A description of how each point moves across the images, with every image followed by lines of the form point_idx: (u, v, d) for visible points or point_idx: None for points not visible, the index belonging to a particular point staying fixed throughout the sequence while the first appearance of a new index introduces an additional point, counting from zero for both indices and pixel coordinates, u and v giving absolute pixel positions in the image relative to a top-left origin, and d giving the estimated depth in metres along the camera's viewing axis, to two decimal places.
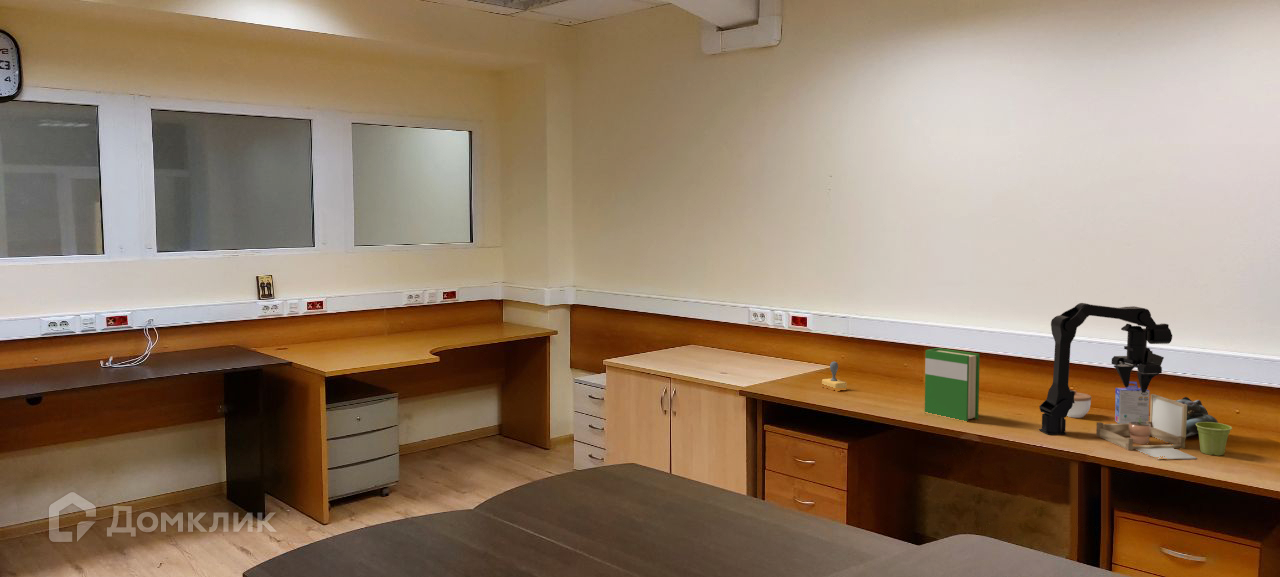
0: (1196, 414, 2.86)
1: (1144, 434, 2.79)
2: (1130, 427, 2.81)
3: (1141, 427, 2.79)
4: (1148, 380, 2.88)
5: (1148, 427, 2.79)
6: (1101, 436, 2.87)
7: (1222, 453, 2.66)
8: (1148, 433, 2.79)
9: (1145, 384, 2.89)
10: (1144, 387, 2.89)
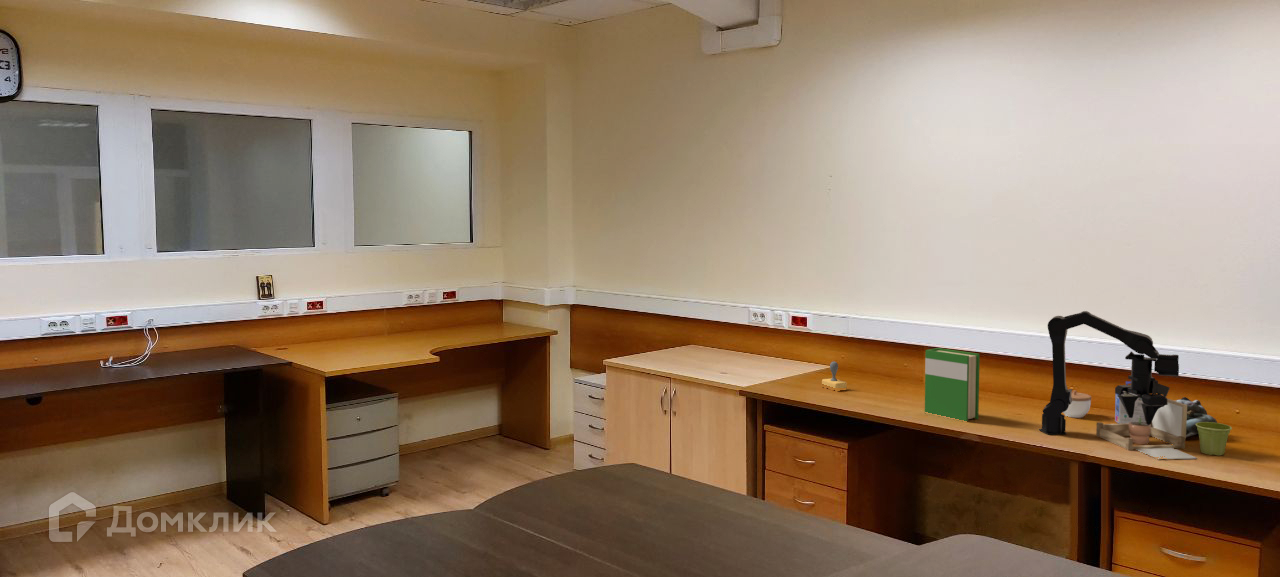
0: (1195, 414, 2.86)
1: (1144, 434, 2.79)
2: (1130, 427, 2.81)
3: (1141, 427, 2.79)
4: (1153, 412, 2.75)
5: (1148, 427, 2.79)
6: (1101, 436, 2.87)
7: (1222, 453, 2.66)
8: (1148, 433, 2.79)
9: (1150, 416, 2.76)
10: (1149, 419, 2.76)
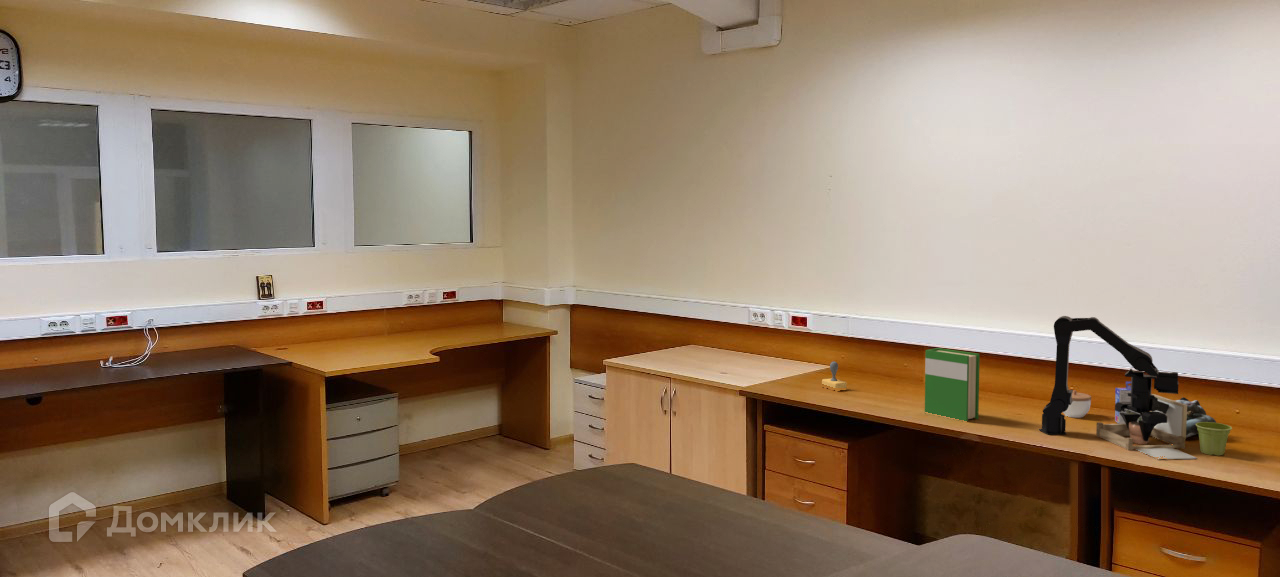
0: (1195, 415, 2.85)
1: None
2: (1130, 427, 2.81)
3: None
4: (1150, 428, 2.77)
5: None
6: (1101, 436, 2.87)
7: (1222, 453, 2.66)
8: None
9: (1147, 432, 2.77)
10: (1146, 435, 2.78)
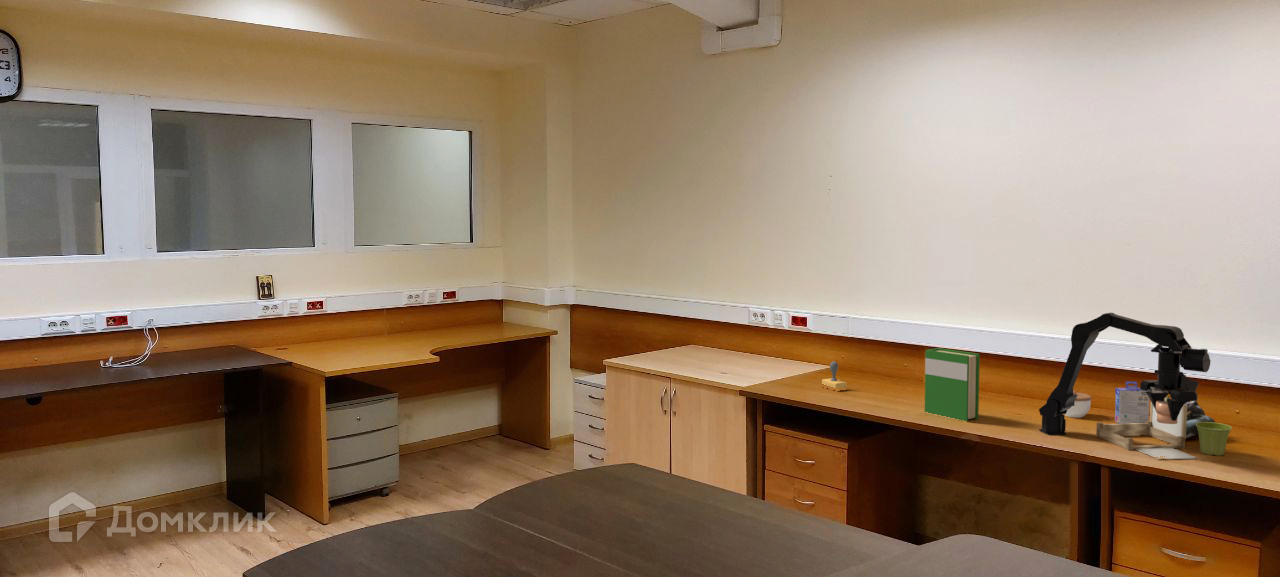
0: (1194, 415, 2.85)
1: None
2: (1157, 406, 2.66)
3: None
4: (1179, 407, 2.62)
5: None
6: (1101, 436, 2.87)
7: (1222, 453, 2.66)
8: None
9: (1176, 411, 2.62)
10: (1174, 415, 2.62)
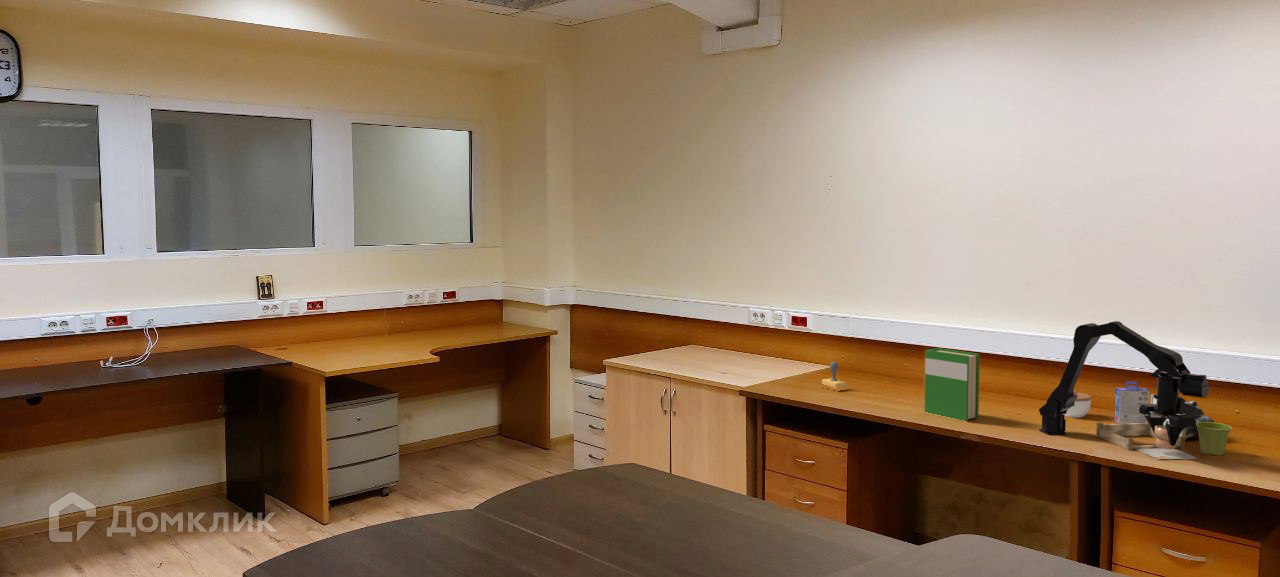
0: None
1: None
2: (1156, 431, 2.67)
3: None
4: (1178, 432, 2.62)
5: None
6: (1101, 436, 2.87)
7: (1222, 453, 2.66)
8: None
9: (1174, 437, 2.63)
10: (1173, 440, 2.63)
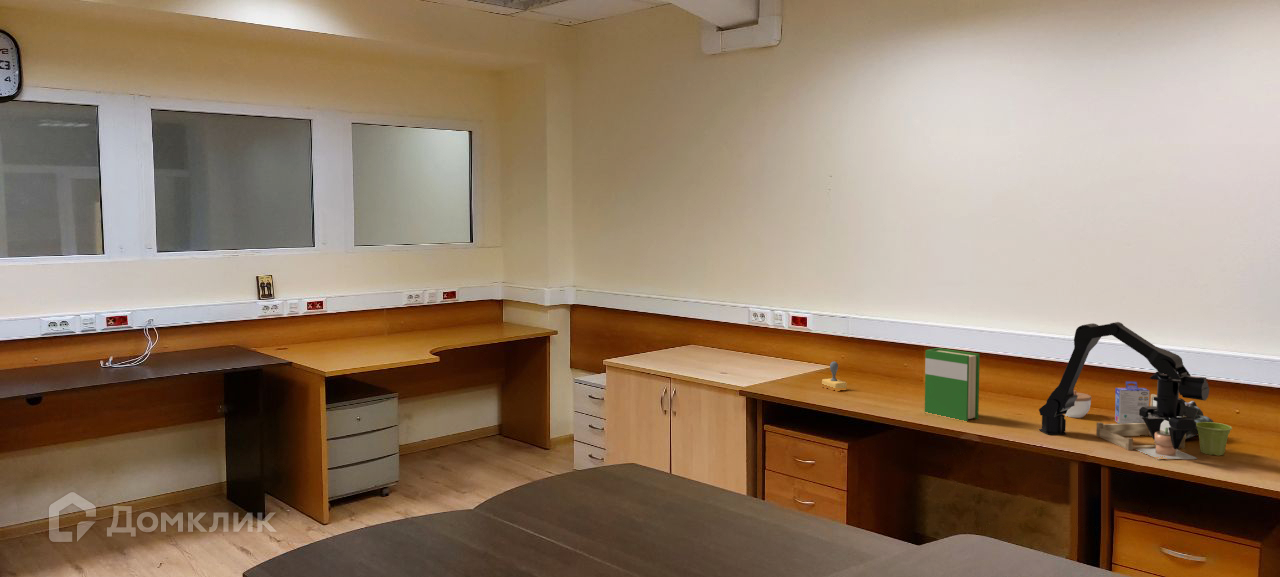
0: None
1: (1171, 445, 2.64)
2: (1156, 437, 2.67)
3: (1168, 437, 2.64)
4: (1181, 436, 2.61)
5: None
6: (1101, 436, 2.87)
7: (1222, 453, 2.66)
8: None
9: (1177, 440, 2.61)
10: (1176, 443, 2.62)
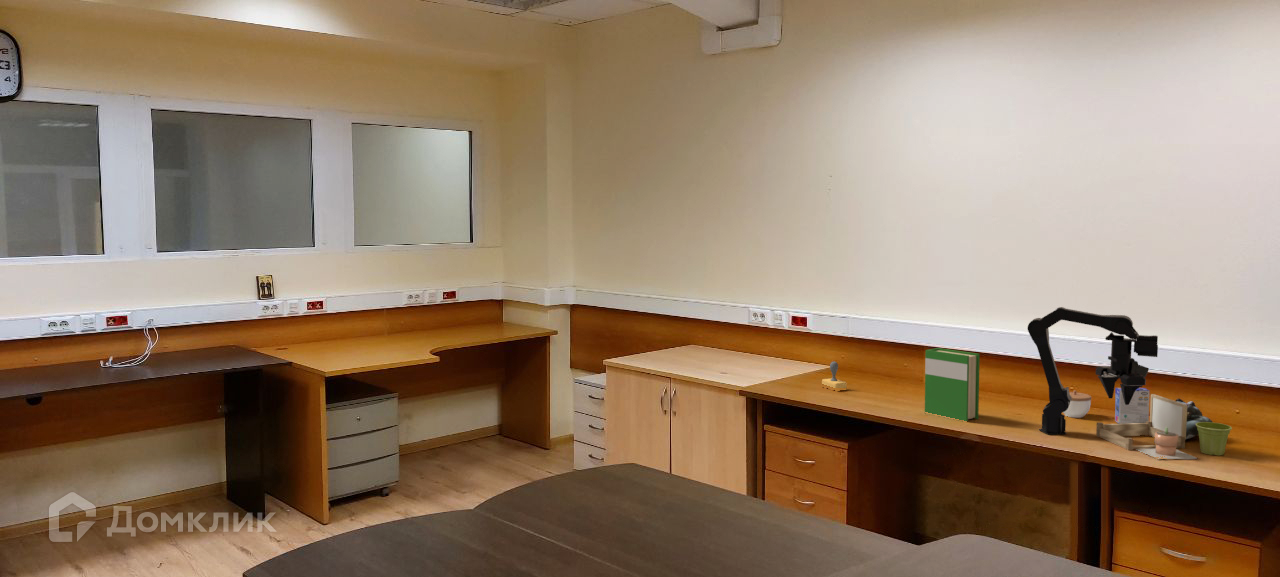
0: (1193, 416, 2.84)
1: (1171, 445, 2.64)
2: (1156, 437, 2.67)
3: (1168, 437, 2.64)
4: (1132, 392, 2.78)
5: (1175, 437, 2.64)
6: (1101, 436, 2.87)
7: (1222, 453, 2.66)
8: (1175, 444, 2.64)
9: (1128, 396, 2.78)
10: (1127, 399, 2.79)
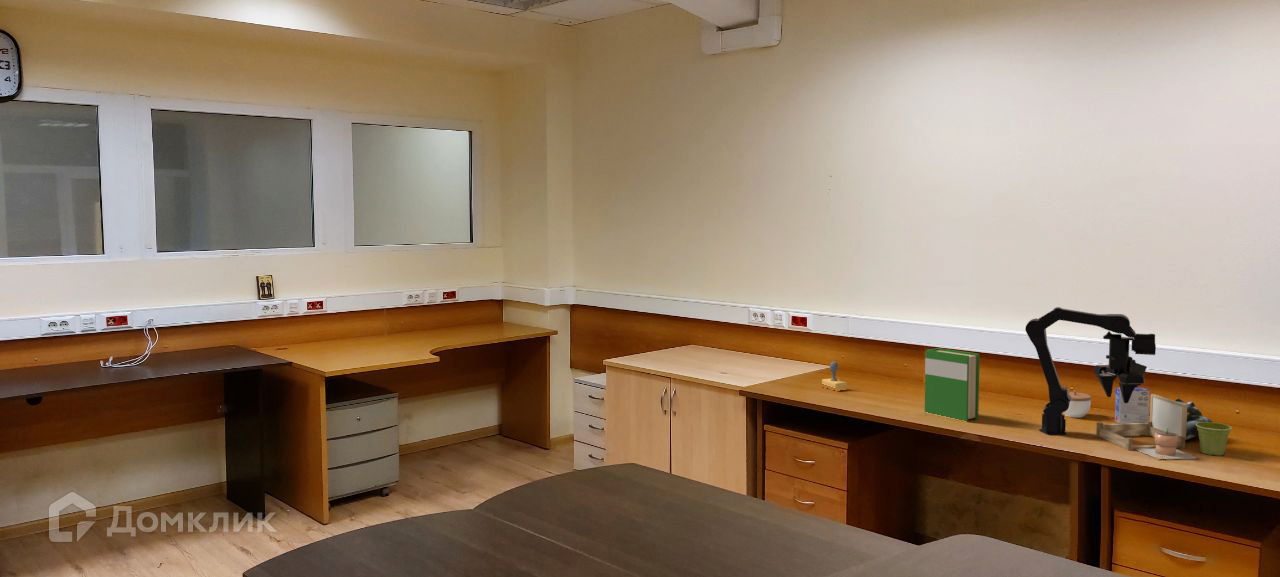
0: (1193, 416, 2.83)
1: (1171, 445, 2.64)
2: (1156, 437, 2.67)
3: (1168, 437, 2.64)
4: (1130, 390, 2.79)
5: (1175, 437, 2.64)
6: (1101, 436, 2.87)
7: (1222, 453, 2.66)
8: (1175, 444, 2.64)
9: (1127, 394, 2.79)
10: (1126, 398, 2.79)
